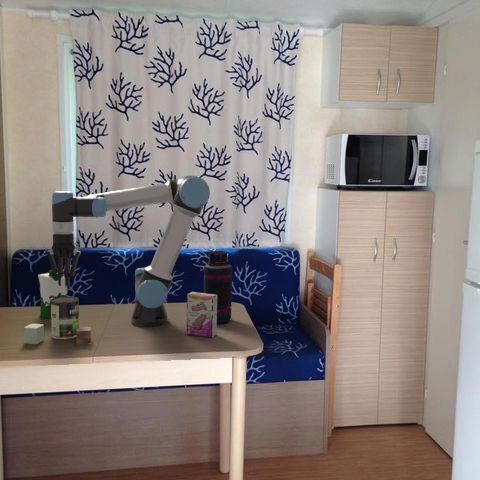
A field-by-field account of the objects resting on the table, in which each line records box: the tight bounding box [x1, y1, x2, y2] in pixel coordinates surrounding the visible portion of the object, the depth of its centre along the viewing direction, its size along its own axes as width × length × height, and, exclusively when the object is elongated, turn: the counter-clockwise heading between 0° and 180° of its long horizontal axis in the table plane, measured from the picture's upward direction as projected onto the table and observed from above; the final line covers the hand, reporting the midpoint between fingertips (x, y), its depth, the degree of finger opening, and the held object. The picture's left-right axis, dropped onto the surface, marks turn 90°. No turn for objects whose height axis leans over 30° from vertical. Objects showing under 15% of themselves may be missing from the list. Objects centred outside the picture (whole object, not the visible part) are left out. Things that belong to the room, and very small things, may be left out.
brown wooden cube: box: [76, 326, 92, 345], centre depth 202 cm, size 5×5×5 cm
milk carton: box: [37, 269, 65, 319], centre depth 233 cm, size 9×9×20 cm
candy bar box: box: [185, 291, 218, 339], centre depth 212 cm, size 11×5×16 cm, turn 71°
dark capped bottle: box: [203, 250, 233, 324], centre depth 231 cm, size 14×12×30 cm
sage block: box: [23, 323, 45, 345], centre depth 201 cm, size 5×5×6 cm
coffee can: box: [50, 296, 80, 340], centre depth 208 cm, size 10×10×14 cm
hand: (64, 294), depth 207 cm, fingers closed
